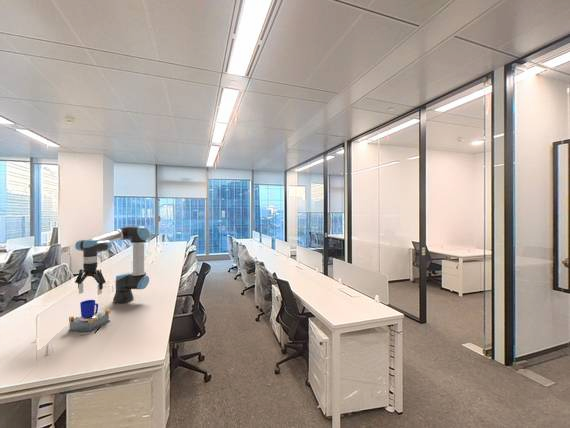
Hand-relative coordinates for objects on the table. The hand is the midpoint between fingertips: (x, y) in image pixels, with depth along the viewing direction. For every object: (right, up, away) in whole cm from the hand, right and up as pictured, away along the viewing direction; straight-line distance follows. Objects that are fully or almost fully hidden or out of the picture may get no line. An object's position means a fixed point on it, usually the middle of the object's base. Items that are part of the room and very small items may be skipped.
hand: (90, 293), depth 174 cm
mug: (0, -16, 0) cm, 16 cm away
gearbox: (0, -22, 0) cm, 22 cm away
